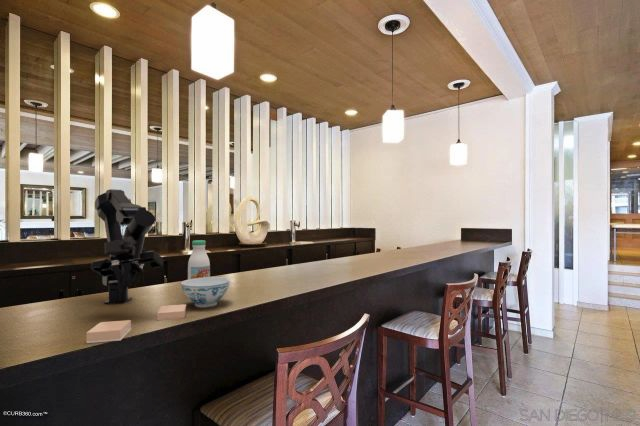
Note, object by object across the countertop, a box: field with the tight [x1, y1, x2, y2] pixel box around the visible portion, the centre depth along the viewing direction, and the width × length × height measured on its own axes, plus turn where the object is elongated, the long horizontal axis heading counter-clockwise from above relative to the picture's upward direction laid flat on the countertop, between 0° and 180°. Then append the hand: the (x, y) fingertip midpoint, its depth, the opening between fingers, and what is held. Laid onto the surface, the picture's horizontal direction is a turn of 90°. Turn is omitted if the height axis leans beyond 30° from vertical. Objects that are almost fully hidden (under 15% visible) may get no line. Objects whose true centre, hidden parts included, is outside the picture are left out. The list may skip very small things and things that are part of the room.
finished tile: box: [157, 304, 187, 321], centre depth 100 cm, size 8×7×2 cm
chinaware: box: [180, 276, 231, 308], centre depth 111 cm, size 15×15×8 cm
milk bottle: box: [187, 239, 211, 280], centre depth 126 cm, size 8×8×20 cm
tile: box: [85, 319, 132, 344], centre depth 82 cm, size 2×7×8 cm
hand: (121, 291), depth 94 cm, fingers closed
